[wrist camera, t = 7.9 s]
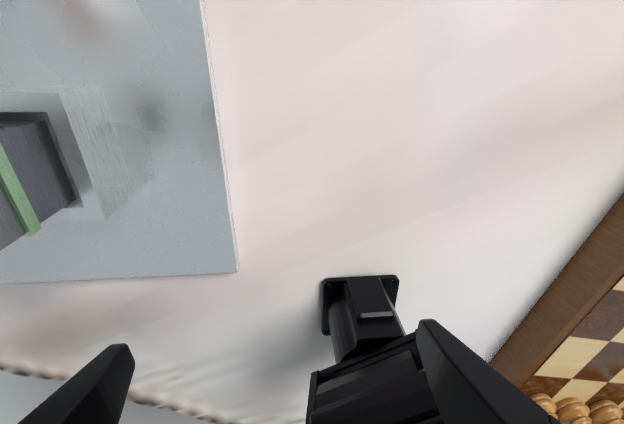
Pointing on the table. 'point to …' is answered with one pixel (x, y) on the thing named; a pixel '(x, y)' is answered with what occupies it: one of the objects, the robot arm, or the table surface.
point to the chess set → (576, 334)
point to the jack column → (29, 179)
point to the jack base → (120, 138)
